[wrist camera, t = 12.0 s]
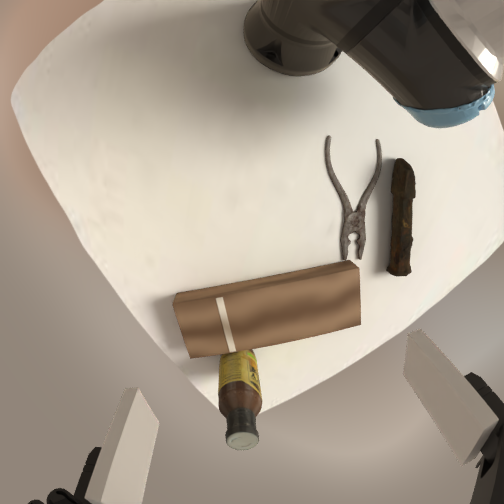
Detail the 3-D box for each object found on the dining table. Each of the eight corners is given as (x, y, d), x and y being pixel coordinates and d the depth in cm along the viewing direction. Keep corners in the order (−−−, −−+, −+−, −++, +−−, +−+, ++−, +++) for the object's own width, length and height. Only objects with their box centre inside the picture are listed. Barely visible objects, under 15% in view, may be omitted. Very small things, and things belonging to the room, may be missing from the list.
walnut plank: (176, 293, 46) (172, 304, 42) (349, 259, 46) (359, 268, 42) (192, 345, 49) (190, 358, 45) (352, 313, 49) (361, 324, 45)
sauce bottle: (255, 368, 51) (267, 456, 32) (220, 369, 50) (218, 457, 31) (255, 339, 49) (268, 427, 30) (218, 340, 49) (214, 429, 29)
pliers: (377, 128, 40) (395, 249, 46) (375, 129, 41) (393, 248, 46) (321, 136, 40) (344, 263, 46) (319, 137, 41) (342, 262, 47)
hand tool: (402, 269, 48) (416, 278, 43) (383, 270, 47) (396, 280, 43) (408, 160, 42) (424, 160, 38) (388, 158, 42) (403, 158, 38)
